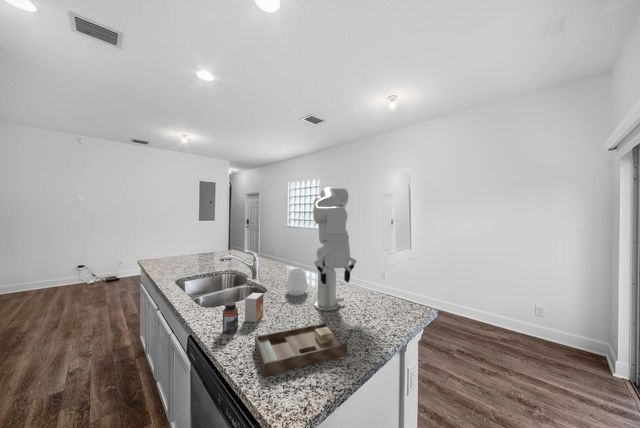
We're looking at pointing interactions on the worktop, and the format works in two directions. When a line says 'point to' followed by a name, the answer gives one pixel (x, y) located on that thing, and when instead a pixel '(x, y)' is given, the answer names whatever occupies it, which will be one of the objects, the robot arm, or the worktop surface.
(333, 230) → the robot arm
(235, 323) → the supplement bottle
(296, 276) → the cup
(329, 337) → the maple block
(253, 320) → the small box
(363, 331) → the worktop surface
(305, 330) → the box
